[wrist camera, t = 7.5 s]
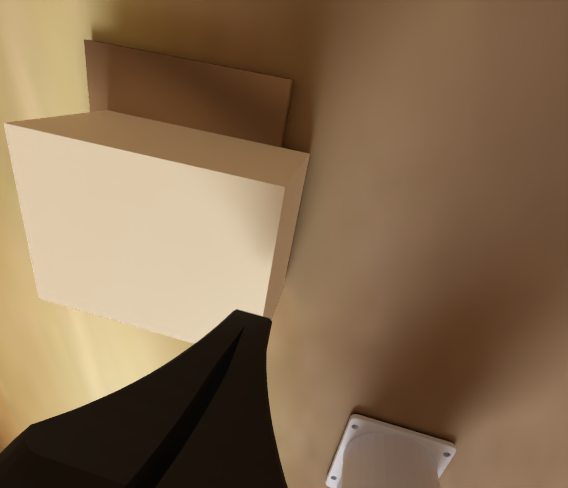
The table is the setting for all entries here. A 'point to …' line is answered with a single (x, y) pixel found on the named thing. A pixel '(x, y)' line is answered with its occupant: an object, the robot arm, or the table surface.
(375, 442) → the robot arm
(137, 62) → the board
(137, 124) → the carton
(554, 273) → the table surface
